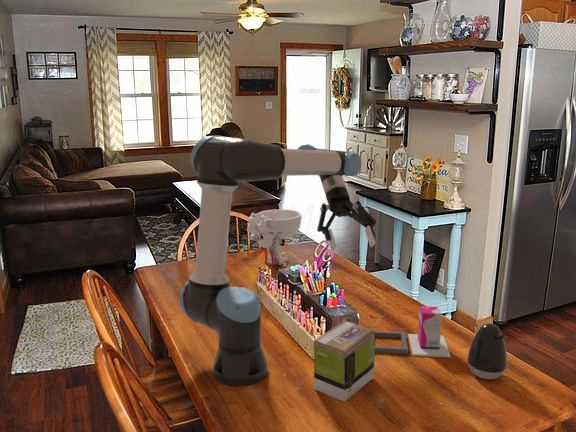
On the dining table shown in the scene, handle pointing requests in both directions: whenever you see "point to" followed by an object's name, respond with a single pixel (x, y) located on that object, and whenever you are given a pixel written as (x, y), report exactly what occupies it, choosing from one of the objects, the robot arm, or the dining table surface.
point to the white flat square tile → (428, 352)
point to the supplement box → (429, 327)
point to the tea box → (344, 360)
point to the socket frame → (392, 349)
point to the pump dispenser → (488, 352)
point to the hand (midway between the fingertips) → (353, 247)
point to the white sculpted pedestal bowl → (274, 231)
